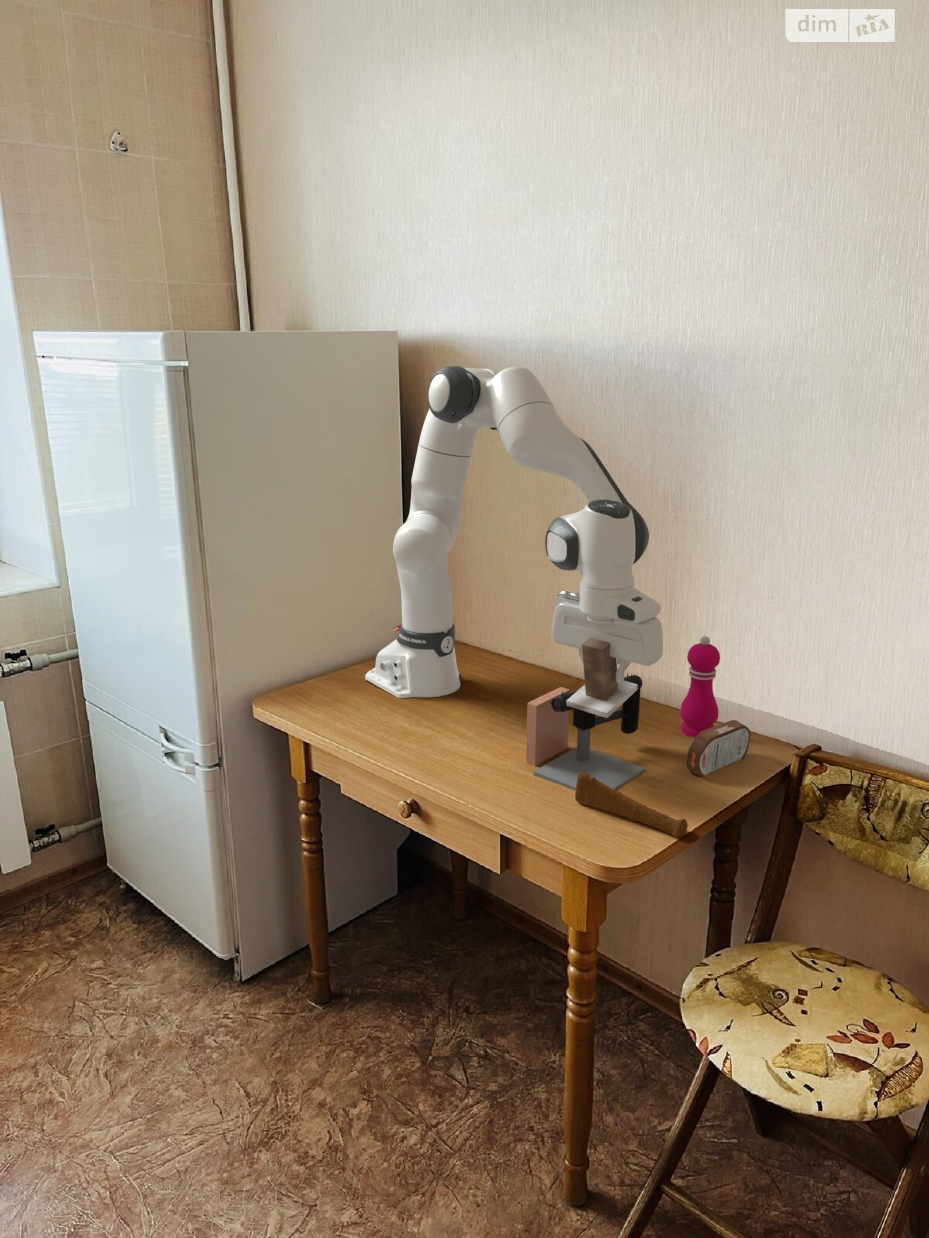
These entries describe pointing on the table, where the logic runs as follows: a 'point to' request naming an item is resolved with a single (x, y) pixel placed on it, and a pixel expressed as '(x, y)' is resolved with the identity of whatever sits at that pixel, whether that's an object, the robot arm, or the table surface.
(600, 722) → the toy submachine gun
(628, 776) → the mat
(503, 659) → the table surface
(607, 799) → the primitive tool
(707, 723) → the pepper mill
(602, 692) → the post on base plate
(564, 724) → the tile
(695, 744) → the tin
